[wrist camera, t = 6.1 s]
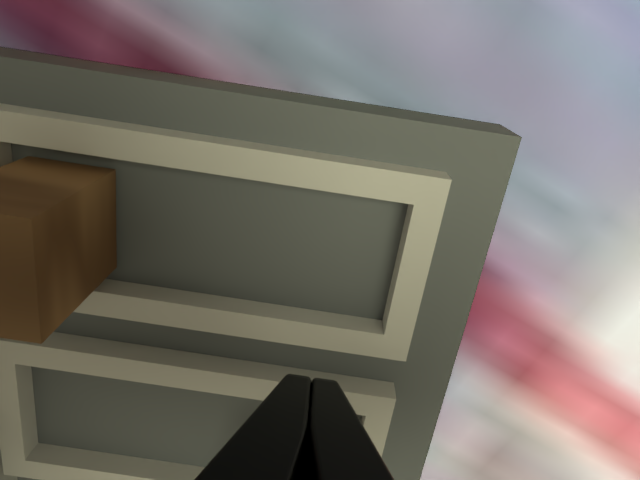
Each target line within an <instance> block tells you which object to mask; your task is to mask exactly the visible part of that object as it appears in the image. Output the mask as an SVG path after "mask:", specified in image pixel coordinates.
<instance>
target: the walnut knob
mask: <svg viewBox="0 0 640 480" xmlns="http://www.w3.org/2000/svg"><path fill="white" fill-rule="evenodd" d="M116 268H117V244H116V169H110V168H103V167H97V166H90V165H84V164H77V163H71V162H64V161H58V160H51V159H44V158H38V157H31V156H27V157H25V158H22V159H19V160H17V161H14V162H12V163H9V164H6V165H4V166H1V167H0V338H5V339H12V340H18V341H25V342H32V343H39V344H42V343H43V342H44V341H45V340H46V339H47V338H48V337H49V336H50V335H51V334H52V333H53V332H54V331H55V330H56V329H57V328H58V327H59V326H60V325H61V324H62V323H63V321H64V320H65V319H66V318H67V317H68V316H69V315H70V314H71V313H72V312H73V311H74V310H75V309H76V308H77V307H78V306H79V305H80V304H81V303H82V302H83V301H84V300H85V299H86V298H87V297H88V296H89V295H90V294H91V293H92V292H93V291H94V290H95V289H96V288H97V287H98V286H99V285H100V284H101V283H102V282H103V281H104V280H105V279H106V278H107V277H108V276H109V275H110V274H111V273H112V272H113V271H114V270H115V269H116Z"/></svg>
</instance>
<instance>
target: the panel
mask: <svg viewBox="0 0 640 480" xmlns="http://www.w3.org/2000/svg"><path fill="white" fill-rule="evenodd" d="M521 138H522V137H520V136H519V135H517V134H515V133H514V132H512V131H510V130H508V129H507V128H505V127H503V126H502V125H500V124H493V123H487V122H481V121H474V120H468V119H461V118H455V117H448V116H442V115H436V114H429V113H423V112H416V111H410V110H403V109H397V108H391V107H384V106H378V105H371V104H365V103H358V102H352V101H346V100H339V99H333V98H326V97H320V96H313V95H307V94H301V93H294V92H288V91H281V90H275V89H268V88H262V87H255V86H249V85H243V84H236V83H230V82H223V81H217V80H210V79H204V78H198V77H191V76H185V75H178V74H172V73H165V72H159V71H153V70H146V69H140V68H133V67H127V66H120V65H114V64H108V63H101V62H95V61H88V60H82V59H75V58H69V57H63V56H56V55H50V54H43V53H37V52H30V51H24V50H18V49H11V48H5V47H0V167H1V166H4V165H6V164H9V163H12V162H14V161H17V160H19V159H22V158H25V157H27V156H31V157H38V158H44V159H51V160H58V161H64V162H71V163H77V164H84V165H90V166H97V167H103V168H110V169H116V244H117V268H116V269H115V270H114V271H113V272H112V273H111V274H110V275H109V276H108V277H107V278H106V279H105V280H104V281H103V282H102V283H101V284H100V285H99V286H98V287H97V288H96V289H95V290H94V291H93V292H92V293H91V294H90V295H89V296H88V297H87V298H86V299H85V300H84V301H83V302H82V303H81V304H80V305H79V306H78V307H77V308H76V309H75V310H74V311H73V312H72V313H71V314H70V315H69V316H68V317H67V318H66V319H65V320H64V321H63V323H62V324H61V325H60V326H59V327H58V328H57V329H56V330H55V331H54V332H53V333H52V334H51V335H50V336H49V337H48V338H47V339H46V340H45V341H44V342H43V343H42V344H39V343H32V342H25V341H18V340H12V339H5V338H0V480H194V479H195V478H196V477H197V476H198V475H199V474H200V472H201V471H202V470H203V469H204V468H205V467H206V466H207V464H208V463H209V462H210V461H211V460H212V459H213V458H214V456H215V455H216V454H217V453H218V452H219V451H220V450H221V448H222V447H223V446H224V445H225V444H226V443H227V442H228V440H229V439H230V438H231V437H232V436H233V435H234V434H235V432H236V431H237V430H238V429H239V428H240V427H241V426H242V424H243V423H244V422H245V421H246V420H247V419H248V418H249V416H250V415H251V414H252V413H253V412H254V411H255V410H256V408H257V407H258V406H259V405H260V404H261V403H262V402H263V400H264V399H265V398H266V397H267V396H268V395H269V394H270V392H271V391H272V390H273V389H274V388H275V387H276V386H277V384H278V383H279V382H280V381H281V380H282V379H283V378H284V377H285V376H286V375H287V374H296V375H303V376H308V377H310V378H311V382H312V380H313V378H323V379H330V380H335V381H337V382H338V383H339V385H340V387H341V388H342V390H343V392H344V393H345V395H346V397H347V399H348V400H349V402H350V404H351V406H352V407H353V409H354V411H355V412H356V414H357V416H358V418H359V419H360V421H361V423H362V425H363V426H364V428H365V430H366V431H367V433H368V435H369V437H370V438H371V440H372V442H373V444H374V445H375V447H376V449H377V451H378V452H379V454H380V456H381V457H382V459H383V461H384V463H385V464H386V466H387V468H388V470H389V471H390V473H391V475H392V476H393V478H394V480H420V476H421V473H422V470H423V466H424V463H425V460H426V456H427V453H428V450H429V446H430V443H431V440H432V436H433V433H434V429H435V426H436V423H437V419H438V416H439V413H440V409H441V406H442V403H443V399H444V396H445V393H446V389H447V386H448V383H449V379H450V376H451V372H452V369H453V366H454V362H455V359H456V356H457V352H458V349H459V346H460V342H461V339H462V336H463V332H464V329H465V326H466V322H467V319H468V316H469V312H470V309H471V305H472V302H473V299H474V295H475V292H476V289H477V285H478V282H479V279H480V275H481V272H482V269H483V265H484V262H485V259H486V255H487V252H488V248H489V245H490V242H491V238H492V235H493V232H494V228H495V225H496V222H497V218H498V215H499V212H500V208H501V205H502V202H503V198H504V195H505V191H506V188H507V185H508V181H509V178H510V175H511V171H512V168H513V165H514V161H515V158H516V155H517V151H518V148H519V145H520V141H521Z"/></svg>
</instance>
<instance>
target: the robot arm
mask: <svg viewBox="0 0 640 480" xmlns="http://www.w3.org/2000/svg"><path fill="white" fill-rule="evenodd" d="M194 480H394V478H393V476H392V475H391V473H390V471H389V470H388V468H387V466H386V464H385V463H384V461H383V459H382V457H381V456H380V454H379V452H378V451H377V449H376V447H375V445H374V444H373V442H372V440H371V438H370V437H369V435H368V433H367V431H366V430H365V428H364V426H363V425H362V423H361V421H360V419H359V418H358V416H357V414H356V412H355V411H354V409H353V407H352V406H351V404H350V402H349V400H348V399H347V397H346V395H345V393H344V392H343V390H342V388H341V387H340V385H339V383H338V382H337V381H335V380H330V379H323V378H313V380H312V382H311V378H310V377H308V376H303V375H296V374H287V375H286V376H285V377H284V378H283V379H282V380H281V381H280V382H279V383H278V384H277V386H276V387H275V388H274V389H273V390H272V391H271V392H270V394H269V395H268V396H267V397H266V398H265V399H264V400H263V402H262V403H261V404H260V405H259V406H258V407H257V408H256V410H255V411H254V412H253V413H252V414H251V415H250V416H249V418H248V419H247V420H246V421H245V422H244V423H243V424H242V426H241V427H240V428H239V429H238V430H237V431H236V432H235V434H234V435H233V436H232V437H231V438H230V439H229V440H228V442H227V443H226V444H225V445H224V446H223V447H222V448H221V450H220V451H219V452H218V453H217V454H216V455H215V456H214V458H213V459H212V460H211V461H210V462H209V463H208V464H207V466H206V467H205V468H204V469H203V470H202V471H201V472H200V474H199V475H198V476H197V477H196V478H195V479H194Z"/></svg>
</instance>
